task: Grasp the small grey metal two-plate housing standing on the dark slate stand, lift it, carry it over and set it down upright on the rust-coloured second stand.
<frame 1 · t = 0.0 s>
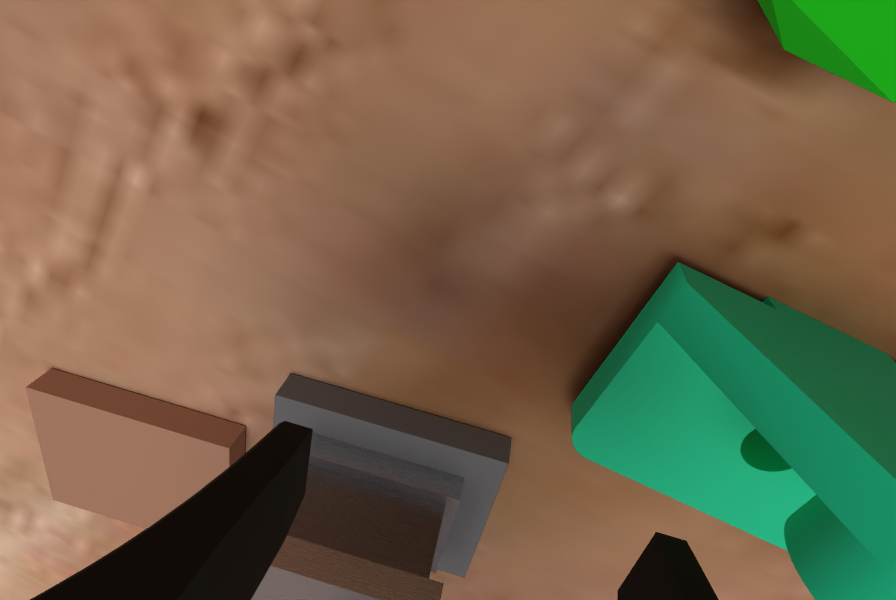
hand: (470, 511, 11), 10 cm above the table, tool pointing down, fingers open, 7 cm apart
camera mount: (750, 395, 21), on the table
stand b: (153, 454, 28), on the table
stand a: (385, 468, 26), on the table
housing: (376, 492, 24), point 1 cm above the table, touching stand a
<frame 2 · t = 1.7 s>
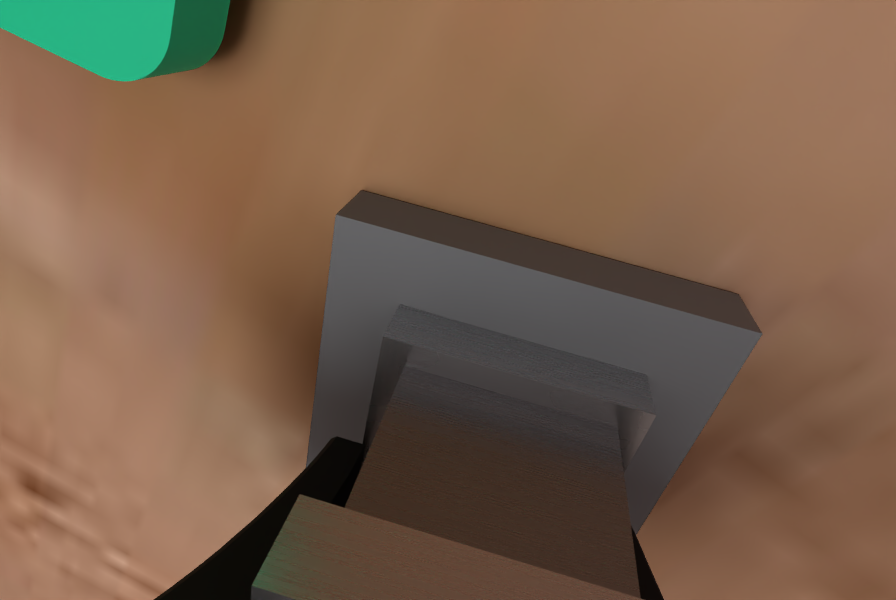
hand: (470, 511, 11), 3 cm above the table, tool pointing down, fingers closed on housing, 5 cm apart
stand a: (486, 417, 14), on the table
housing: (478, 461, 12), point 1 cm above the table, touching gripper, stand a
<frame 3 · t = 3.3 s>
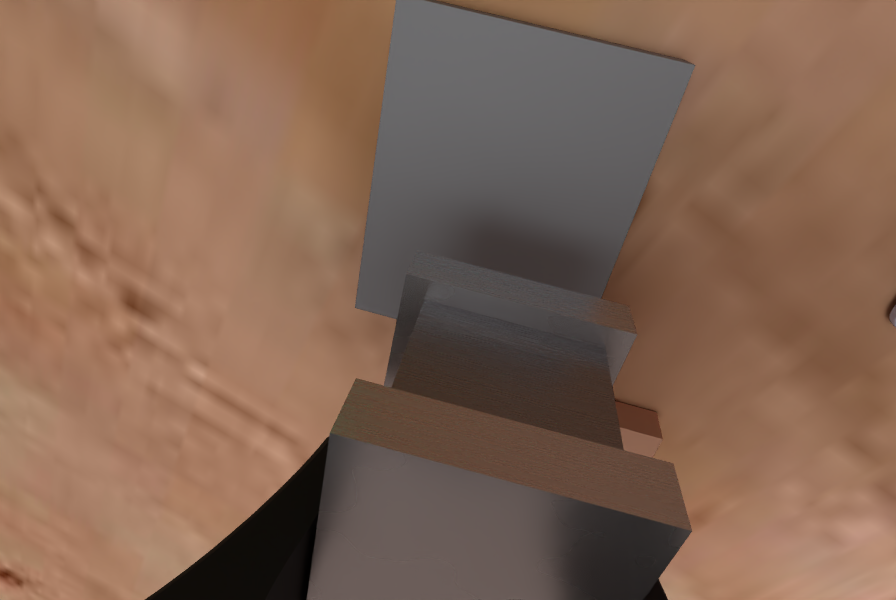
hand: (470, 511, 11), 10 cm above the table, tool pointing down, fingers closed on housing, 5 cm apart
stand b: (522, 471, 24), on the table
stand a: (501, 191, 18), on the table
housing: (485, 392, 14), point 6 cm above the table, touching gripper
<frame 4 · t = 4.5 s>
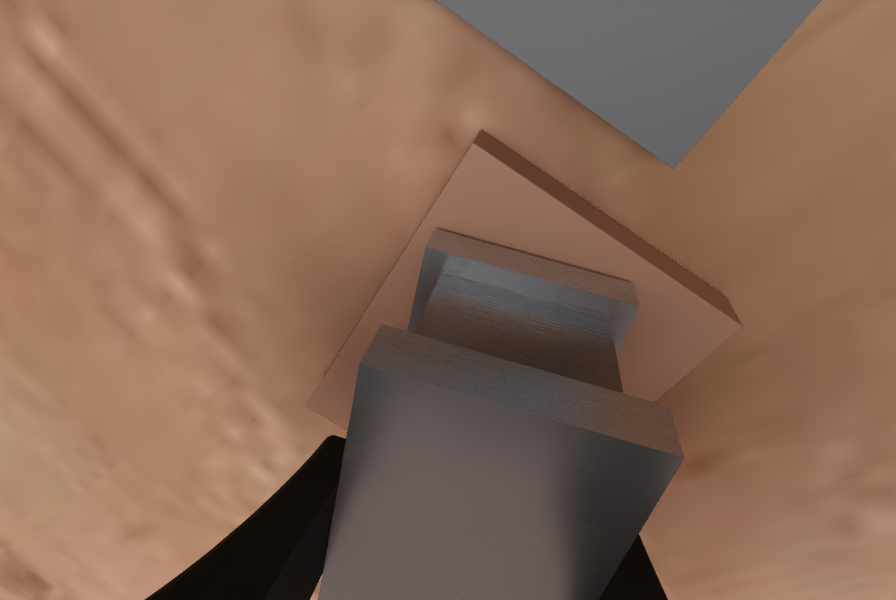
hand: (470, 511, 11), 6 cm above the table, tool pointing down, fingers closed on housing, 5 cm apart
stand b: (500, 342, 17), on the table
housing: (496, 368, 15), point 2 cm above the table, touching gripper
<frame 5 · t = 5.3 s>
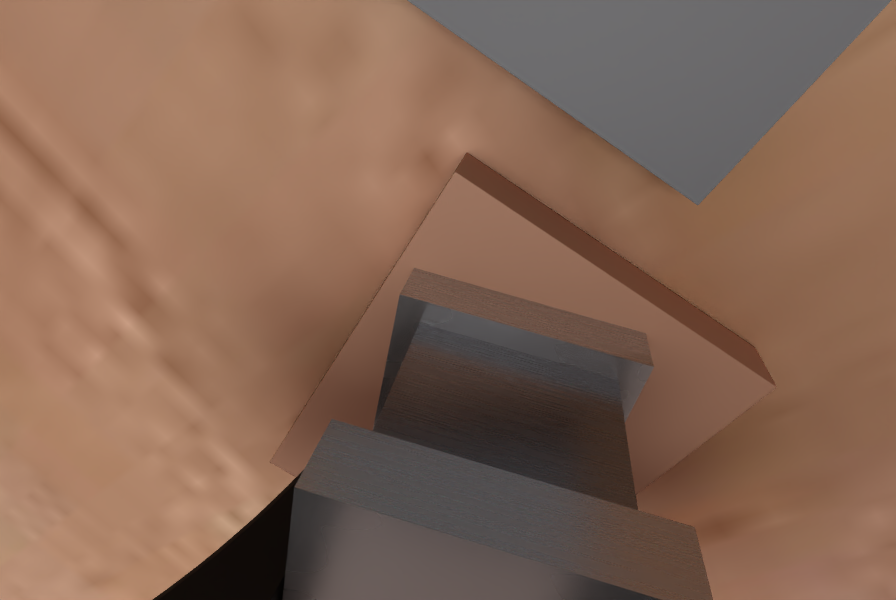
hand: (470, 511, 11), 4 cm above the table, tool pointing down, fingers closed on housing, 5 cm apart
stand b: (492, 392, 15), on the table
housing: (486, 421, 13), point 1 cm above the table, touching gripper, stand b
when the fingers open (4 cm above the table, at t = 5.5 s): housing stays where it is, resting on stand b.
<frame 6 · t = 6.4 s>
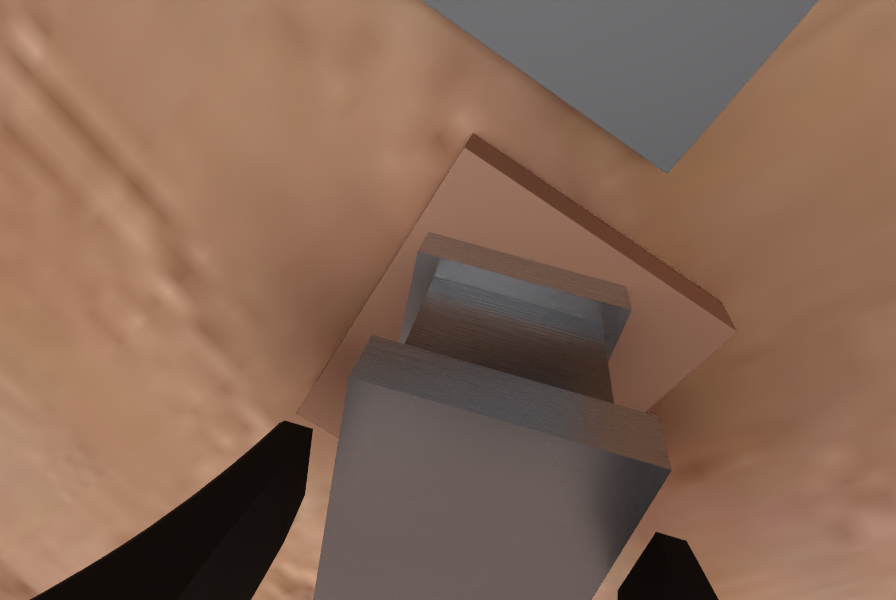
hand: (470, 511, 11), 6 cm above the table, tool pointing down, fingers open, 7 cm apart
stand b: (494, 348, 17), on the table
housing: (490, 369, 15), point 1 cm above the table, touching stand b
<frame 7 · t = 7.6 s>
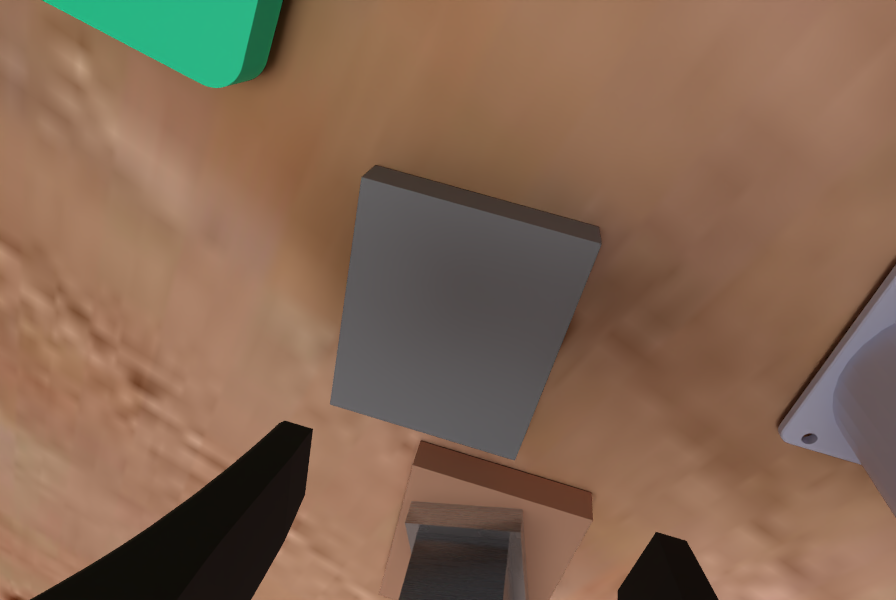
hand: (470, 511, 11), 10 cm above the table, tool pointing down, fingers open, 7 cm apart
stand b: (478, 534, 27), on the table
stand a: (454, 314, 21), on the table
housing: (473, 557, 26), point 1 cm above the table, touching stand b
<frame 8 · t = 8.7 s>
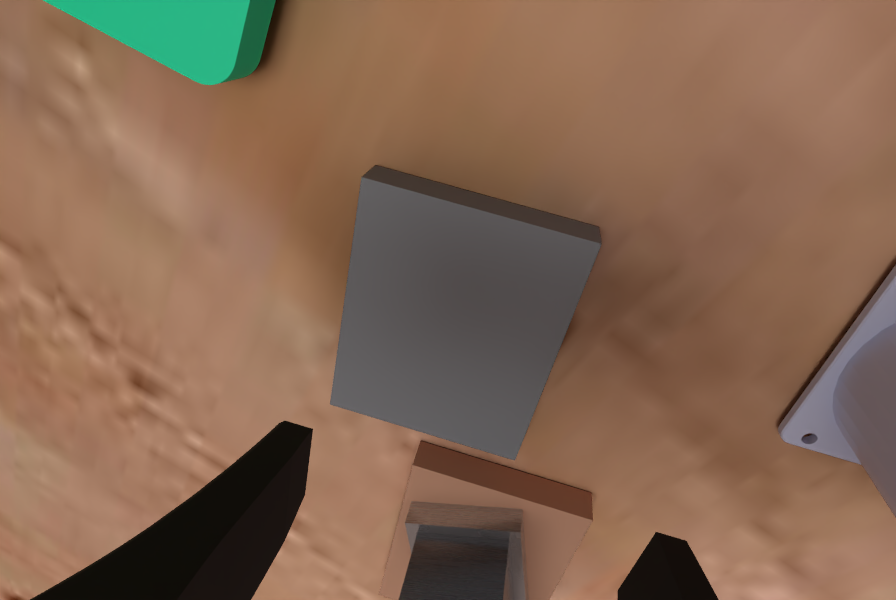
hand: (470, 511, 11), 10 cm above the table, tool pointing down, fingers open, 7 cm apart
stand b: (478, 534, 27), on the table
stand a: (454, 314, 21), on the table
housing: (473, 557, 26), point 1 cm above the table, touching stand b
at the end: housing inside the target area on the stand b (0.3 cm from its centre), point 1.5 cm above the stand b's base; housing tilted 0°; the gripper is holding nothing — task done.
